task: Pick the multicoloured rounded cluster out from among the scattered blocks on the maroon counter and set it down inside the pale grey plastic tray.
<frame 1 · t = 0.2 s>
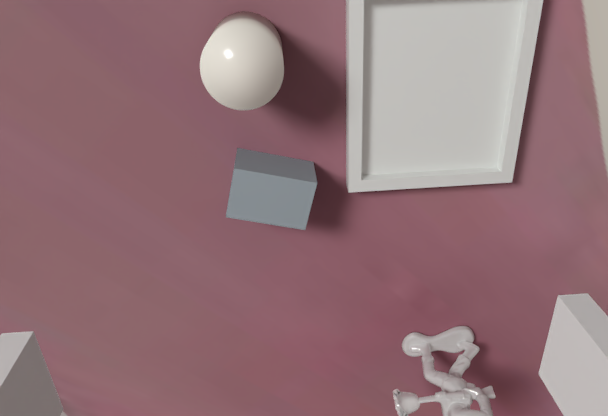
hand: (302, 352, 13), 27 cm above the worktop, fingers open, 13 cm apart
slate block: (271, 177, 41), on the worktop
figurine: (426, 343, 50), on the worktop
white domed cylinder: (246, 49, 36), on the worktop
tray: (433, 88, 38), on the worktop
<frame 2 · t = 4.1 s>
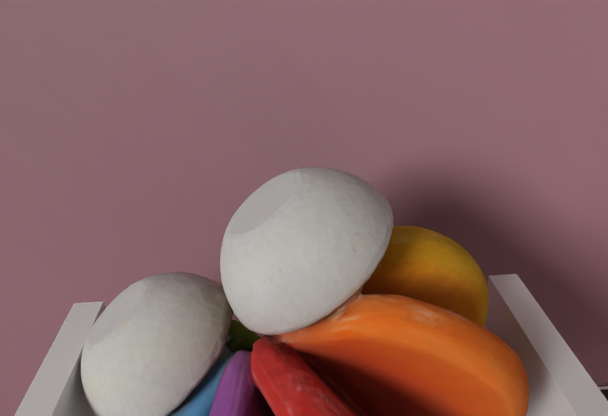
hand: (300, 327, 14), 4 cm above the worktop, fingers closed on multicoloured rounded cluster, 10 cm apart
multicoloured rounded cluster: (300, 311, 14), point 3 cm above the worktop, touching gripper
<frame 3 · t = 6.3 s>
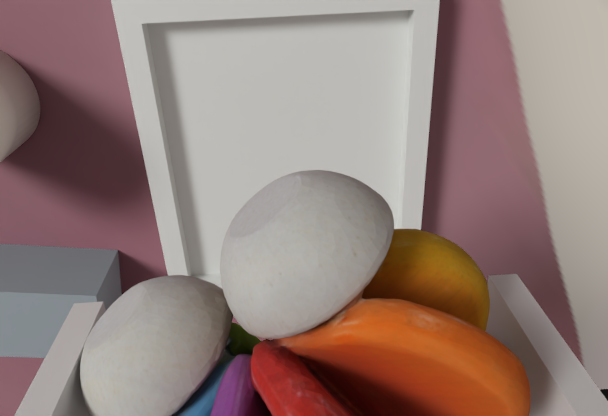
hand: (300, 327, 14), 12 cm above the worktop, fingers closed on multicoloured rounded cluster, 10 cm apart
slate block: (64, 276, 28), on the worktop
multicoloured rounded cluster: (300, 313, 14), point 12 cm above the worktop, touching gripper
tray: (287, 153, 25), on the worktop
when the fingers open (2 cm above the worktop, at t = 8.5 s): multicoloured rounded cluster drops 1 cm, resting on tray.
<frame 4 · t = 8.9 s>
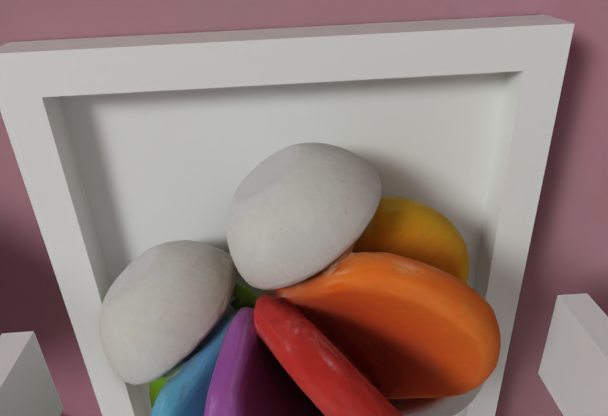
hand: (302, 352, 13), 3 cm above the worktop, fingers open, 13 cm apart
multicoloured rounded cluster: (299, 281, 16), resting on tray
tray: (296, 278, 16), on the worktop
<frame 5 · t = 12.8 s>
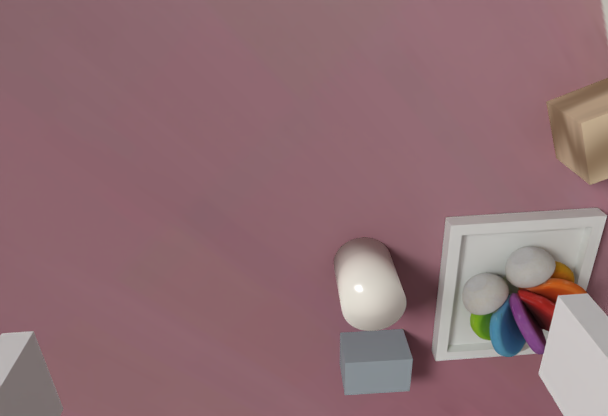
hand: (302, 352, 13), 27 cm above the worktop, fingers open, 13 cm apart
slate block: (370, 345, 49), on the worktop
white domed cylinder: (362, 261, 44), on the worktop
multicoloured rounded cluster: (510, 285, 46), resting on tray
oak block: (583, 118, 39), on the worktop
tray: (508, 284, 47), on the worktop
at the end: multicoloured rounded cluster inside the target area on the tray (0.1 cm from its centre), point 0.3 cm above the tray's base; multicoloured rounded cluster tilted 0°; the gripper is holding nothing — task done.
